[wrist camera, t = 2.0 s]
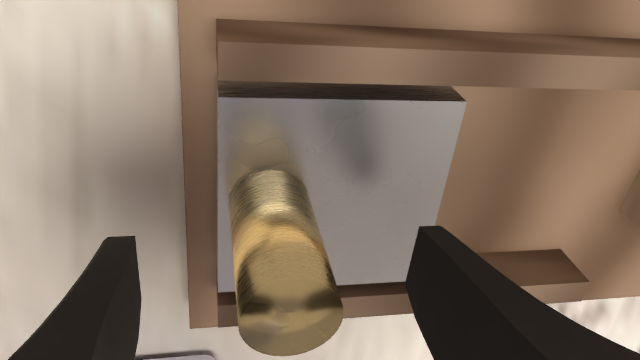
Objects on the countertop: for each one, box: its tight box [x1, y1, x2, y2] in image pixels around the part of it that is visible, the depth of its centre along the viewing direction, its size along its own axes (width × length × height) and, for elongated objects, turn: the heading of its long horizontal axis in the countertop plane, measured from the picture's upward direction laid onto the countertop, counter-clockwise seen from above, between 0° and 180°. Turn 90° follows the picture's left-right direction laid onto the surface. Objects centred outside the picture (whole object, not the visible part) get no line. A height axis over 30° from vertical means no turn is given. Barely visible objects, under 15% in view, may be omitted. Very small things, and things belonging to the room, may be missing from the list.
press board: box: [178, 0, 640, 329], centre depth 19 cm, size 22×14×4 cm, turn 84°
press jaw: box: [216, 75, 467, 356], centre depth 15 cm, size 7×7×6 cm
